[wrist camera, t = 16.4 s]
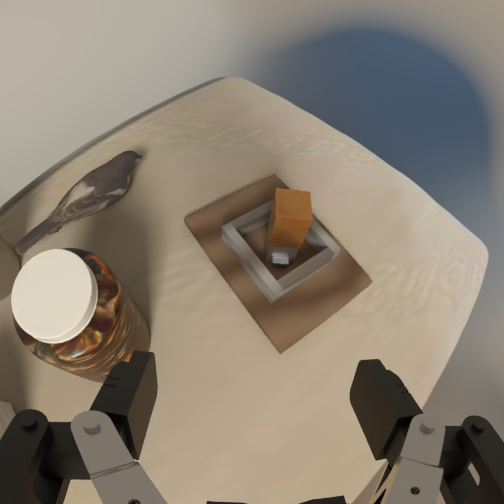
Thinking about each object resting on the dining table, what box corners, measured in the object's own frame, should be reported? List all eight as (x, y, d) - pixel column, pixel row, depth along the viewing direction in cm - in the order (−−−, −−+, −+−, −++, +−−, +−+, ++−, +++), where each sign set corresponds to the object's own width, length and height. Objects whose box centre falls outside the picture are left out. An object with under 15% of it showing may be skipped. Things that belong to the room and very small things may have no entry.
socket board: (184, 222, 44) (182, 205, 40) (274, 178, 49) (278, 160, 46) (280, 354, 36) (286, 346, 33) (369, 284, 42) (382, 271, 38)
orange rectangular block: (293, 268, 41) (312, 225, 32) (264, 266, 40) (276, 221, 32) (292, 234, 43) (309, 187, 35) (265, 232, 43) (276, 183, 34)
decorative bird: (159, 174, 48) (155, 151, 44) (42, 282, 37) (25, 266, 33) (135, 158, 50) (129, 136, 45) (24, 257, 39) (8, 240, 34)
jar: (127, 279, 39) (89, 210, 26) (166, 359, 34) (133, 322, 21) (54, 317, 35) (-10, 265, 22) (85, 399, 31) (14, 381, 18)
